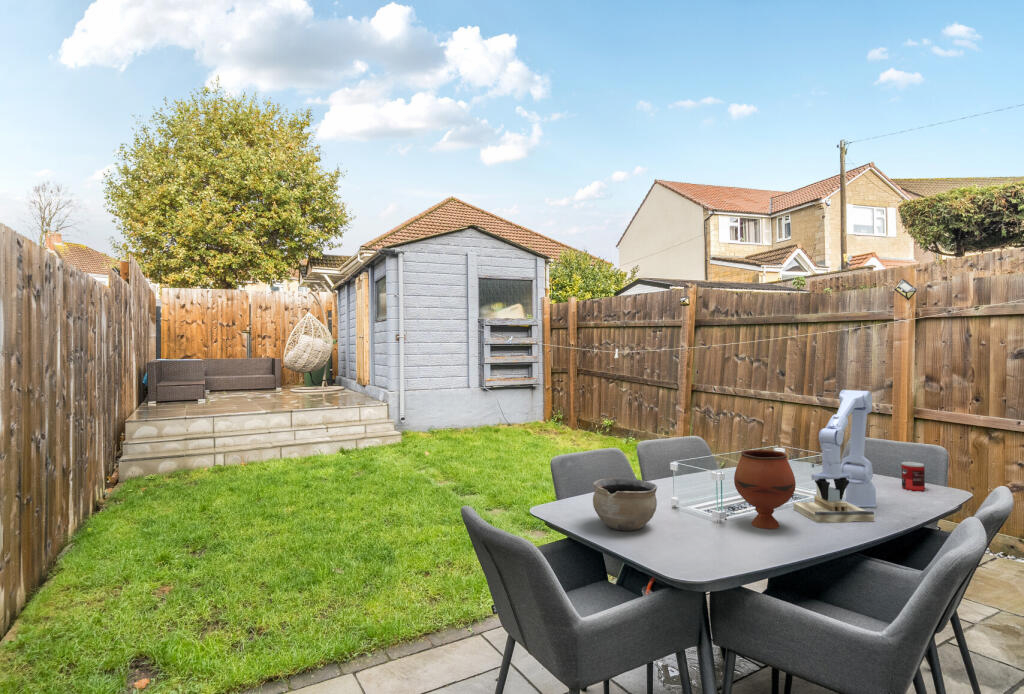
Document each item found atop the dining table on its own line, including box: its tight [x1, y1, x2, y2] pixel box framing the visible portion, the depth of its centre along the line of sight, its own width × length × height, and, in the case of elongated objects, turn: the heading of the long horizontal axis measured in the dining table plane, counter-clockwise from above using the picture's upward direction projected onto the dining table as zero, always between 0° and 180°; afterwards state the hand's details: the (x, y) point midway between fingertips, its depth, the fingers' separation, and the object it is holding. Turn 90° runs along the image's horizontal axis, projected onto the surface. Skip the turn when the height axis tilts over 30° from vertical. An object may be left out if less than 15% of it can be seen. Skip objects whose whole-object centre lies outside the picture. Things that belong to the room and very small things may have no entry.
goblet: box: [733, 449, 797, 530], centre depth 191 cm, size 19×19×25 cm
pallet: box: [813, 494, 847, 511], centre depth 203 cm, size 6×11×3 cm, turn 1°
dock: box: [793, 501, 875, 523], centre depth 201 cm, size 20×16×4 cm
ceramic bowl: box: [592, 477, 658, 531], centre depth 192 cm, size 22×22×15 cm
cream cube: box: [815, 484, 834, 498], centre depth 205 cm, size 4×4×4 cm
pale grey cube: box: [826, 487, 840, 502], centre depth 201 cm, size 4×4×4 cm
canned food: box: [901, 461, 926, 492], centre depth 235 cm, size 8×8×11 cm
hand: (832, 499), depth 201 cm, fingers open, 5 cm apart
